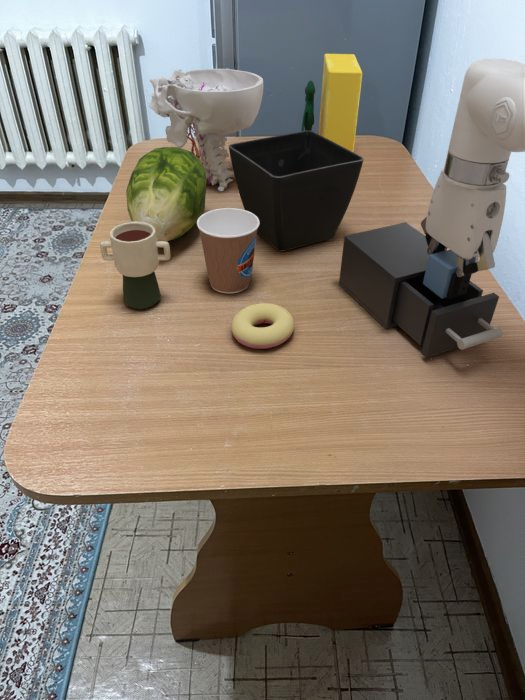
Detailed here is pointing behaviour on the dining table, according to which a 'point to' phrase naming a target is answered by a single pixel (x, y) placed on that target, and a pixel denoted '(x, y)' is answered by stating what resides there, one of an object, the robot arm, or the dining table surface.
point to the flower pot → (295, 186)
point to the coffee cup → (228, 247)
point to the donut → (267, 335)
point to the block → (440, 272)
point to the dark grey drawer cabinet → (382, 266)
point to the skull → (208, 112)
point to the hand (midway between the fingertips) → (444, 285)
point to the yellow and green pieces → (336, 100)
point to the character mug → (136, 261)
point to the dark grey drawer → (444, 317)
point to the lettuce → (167, 191)
